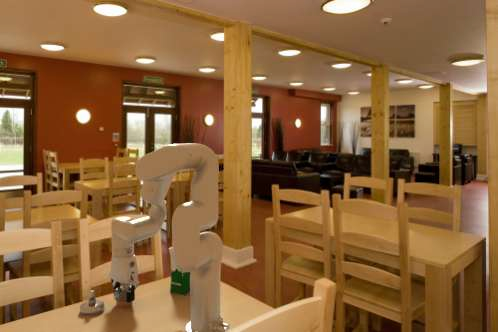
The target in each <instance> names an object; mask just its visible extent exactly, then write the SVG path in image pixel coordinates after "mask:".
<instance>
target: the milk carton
mask: <svg viewBox="0 0 498 332" xmlns="http://www.w3.org/2000/svg"><path fill="white" fill-rule="evenodd" d="M168 252H169V256H170V278H171V279H170V287H169V288H170V289H169V292H170V293H171V294H172V293H173V294H177V295H180V296H186V295H188V294H190V274H191V272H183V271H181V270H179V269H178V268H177V266H176V265H175V263H174V260H173V254H172V246H171V247H169V248H168Z"/></svg>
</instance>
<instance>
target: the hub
mask: <svg viewBox="0 0 498 332" xmlns="http://www.w3.org/2000/svg"><path fill="white" fill-rule="evenodd" d="M88 291H89V295H88V296H89V299H88V300H87V301H85V302H82V303H81V304H80V306H79V313H80V315H82V316H87V317H88V316H95V315H98V314H100V313H102V312H104V310H105V301H104V300H102V299H97V298H96V297H95V290H94V289H91V290H88Z"/></svg>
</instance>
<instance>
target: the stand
mask: <svg viewBox="0 0 498 332" xmlns="http://www.w3.org/2000/svg"><path fill="white" fill-rule="evenodd" d="M125 285H126V284H124V285H122V291H126V286H125ZM115 302H116V303H115V307H116V308H117V309H127V308H130V307H132V305H133V301H132V302H130V303H127V300H126V301H118V300H115Z"/></svg>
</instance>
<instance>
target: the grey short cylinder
mask: <svg viewBox="0 0 498 332" xmlns="http://www.w3.org/2000/svg"><path fill="white" fill-rule="evenodd" d="M124 285H125V286H126V284H124ZM122 286H123V285H122ZM122 286H120V287H117V288H115V291H114V290H113V298H114V300H115V301H116V300H118V301H126V300H127V296H126V292H128V291H127V287H126V291H122ZM129 286H130V287H131V286H132V285H131V284H129Z"/></svg>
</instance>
